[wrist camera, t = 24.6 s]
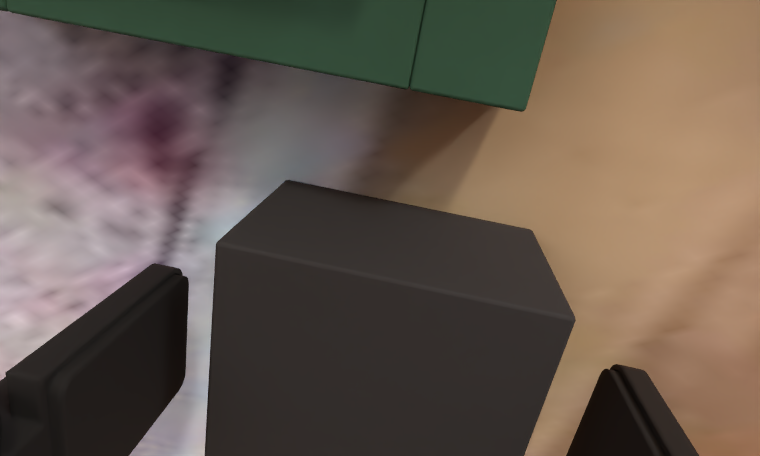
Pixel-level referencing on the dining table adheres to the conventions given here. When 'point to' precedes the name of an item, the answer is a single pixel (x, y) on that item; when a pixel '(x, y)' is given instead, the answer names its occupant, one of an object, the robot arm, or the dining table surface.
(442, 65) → the green rectangular frame
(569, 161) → the dining table surface
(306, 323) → the pad
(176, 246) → the dining table surface
